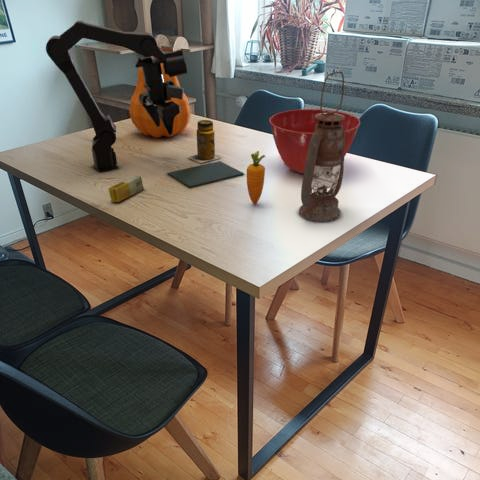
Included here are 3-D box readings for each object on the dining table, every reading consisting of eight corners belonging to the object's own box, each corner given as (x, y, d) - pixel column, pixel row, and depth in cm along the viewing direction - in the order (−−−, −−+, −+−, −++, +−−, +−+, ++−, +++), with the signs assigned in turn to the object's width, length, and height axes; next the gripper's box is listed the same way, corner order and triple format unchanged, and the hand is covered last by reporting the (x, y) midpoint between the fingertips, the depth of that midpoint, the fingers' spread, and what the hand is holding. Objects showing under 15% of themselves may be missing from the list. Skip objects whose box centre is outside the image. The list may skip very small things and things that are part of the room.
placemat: (189, 188, 148) (189, 186, 148) (167, 174, 157) (167, 172, 157) (243, 174, 157) (243, 173, 157) (219, 162, 166) (219, 161, 166)
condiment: (220, 158, 170) (219, 121, 163) (201, 163, 166) (200, 126, 158) (206, 153, 175) (205, 117, 167) (187, 158, 170) (185, 122, 163)
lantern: (284, 216, 132) (294, 73, 111) (321, 199, 142) (336, 64, 121) (317, 229, 126) (333, 80, 105) (353, 210, 135) (374, 70, 115)
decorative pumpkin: (192, 124, 204) (188, 42, 186) (191, 141, 185) (186, 51, 167) (135, 125, 203) (125, 42, 185) (128, 142, 184) (116, 52, 166)
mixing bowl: (259, 179, 154) (261, 128, 145) (275, 151, 177) (278, 105, 167) (350, 187, 149) (358, 135, 140) (355, 157, 171) (362, 111, 162)
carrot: (253, 199, 141) (254, 147, 132) (267, 204, 139) (269, 150, 130) (242, 205, 138) (243, 151, 129) (256, 209, 136) (257, 155, 127)
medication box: (137, 188, 148) (134, 175, 145) (144, 189, 146) (141, 176, 144) (110, 201, 139) (107, 187, 137) (118, 202, 138) (115, 188, 136)
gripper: (191, 79, 147) (199, 131, 157) (164, 66, 159) (173, 115, 169) (157, 89, 143) (168, 141, 154) (133, 75, 155) (144, 124, 166)
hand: (164, 130), depth 161 cm, fingers open, 9 cm apart
